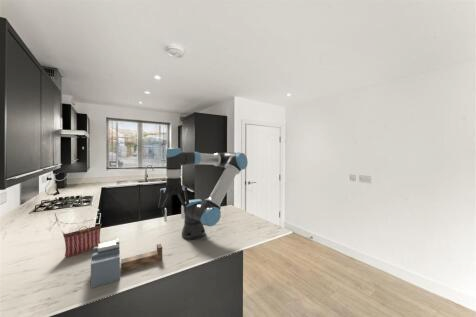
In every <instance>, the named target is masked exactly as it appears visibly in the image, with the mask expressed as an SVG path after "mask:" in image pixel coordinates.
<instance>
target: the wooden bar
mask: <svg viewBox="0 0 476 317" xmlns="http://www.w3.org/2000/svg"><path fill="white" fill-rule="evenodd" d="M162 261H163V246H162V243H158V244H156V250H153V251H148V252H144V253H141V254H136V255H133V256H129V257H125V258H121V259H120V273H121V272H126V271H130V270H134V269H136V268H140V267H144V266H147V265H150V264H154V263H158V262H162Z"/></svg>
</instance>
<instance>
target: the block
mask: <svg viewBox="0 0 476 317" xmlns="http://www.w3.org/2000/svg"><path fill="white" fill-rule="evenodd" d="M119 246H120V244H119ZM120 250H121V249H116V250H111V251H107V252H102V253H98V247H95V248H94V249H93V253H92V254H91V262H90V288H91V289H93V288H96V287H100V286H102V285H103V286H104V285H107V284H109V283H113V282H116V281H120V280H121V259H120V258H121V256H120Z"/></svg>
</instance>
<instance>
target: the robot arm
mask: <svg viewBox="0 0 476 317" xmlns="http://www.w3.org/2000/svg"><path fill="white" fill-rule="evenodd" d="M165 159H166V160H165V161H166V164H165V165H166V168H165V169H166V172H165V173H166V175H165V176H166V178H165V179H166V182H165V183H166V186H165V187H164V188H160V189H159V192H160V195H159V200H158V203H157V204H158V205H157V208H158V209H159V210H161V214H162V216H163V221H164V223H167V221H168V218H167V217H168V216H167V215H168V214H167V213H168V210H167V205H168V203H169V201H170V198H171V197H172V196H175V195H176V196H178V199H179V200H180V202H181V207H180V211H181V212H180V213H181V214H180V215H181V219H182V220H183V221H184V223H183V227H182V231H181V237H182V239H185V240H192V241H193V240H198V239H201V238H203V237H204V236H205V235H206V230H205V226H206V227H213V226H215V225H216V224H218V223H219V221H220V219H221V217H222V216H221V213H222V212H221V209H222V207H221V203H223V200H224V198H225V196H226V195H227V193H228V190H229V189H230V187H231V185H232V183H233V181H234V179H235V177H236V176H237V175H239V174H240V173H241V170H245V169H247V167H248V162H249V161H248V157H247V155H246V154H245V153H243V152H241V151H240V152H239V151H238V152H227V151H226V152H216V153H206V152H205V153H202V152H198V151H182V148H180V147H168V148H166V152H165ZM193 165H194V166H197V165H210V166H211V165H213V166H214V167H221V168H224V170H223V171H222V174H221V176H219V179H218V181H217V183H216V184H215V185H214V188H213V190H212V191H211V193H210V195H209V197H208V198H205V199H204V200H203V199H201V198H198V199H196V198H195V199H189V195H188V187H187V186H183V184H182V166H193ZM181 191H183V196H184V198H183V196H182V193H181ZM165 192H167V193H166V197H165V196H164V195H165ZM164 197H165V200H164Z"/></svg>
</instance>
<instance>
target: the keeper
mask: <svg viewBox="0 0 476 317" xmlns="http://www.w3.org/2000/svg"><path fill="white" fill-rule="evenodd" d="M119 245H120V237H116V239H115V240H109V241H105V242H100V243H99V245H98V253H102V252H107V251H111V250H116V249H120V246H119ZM120 250H121V249H120Z"/></svg>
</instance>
